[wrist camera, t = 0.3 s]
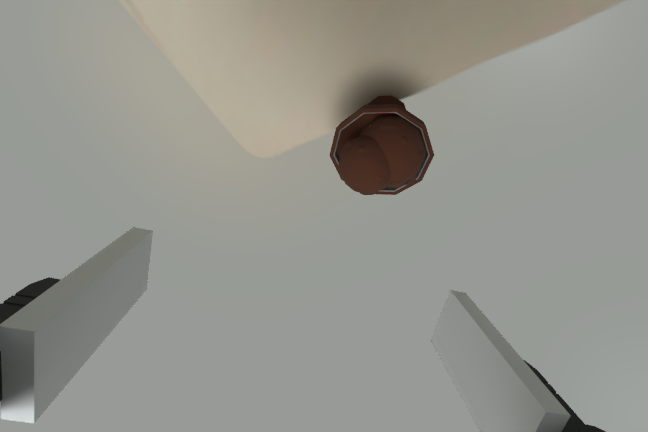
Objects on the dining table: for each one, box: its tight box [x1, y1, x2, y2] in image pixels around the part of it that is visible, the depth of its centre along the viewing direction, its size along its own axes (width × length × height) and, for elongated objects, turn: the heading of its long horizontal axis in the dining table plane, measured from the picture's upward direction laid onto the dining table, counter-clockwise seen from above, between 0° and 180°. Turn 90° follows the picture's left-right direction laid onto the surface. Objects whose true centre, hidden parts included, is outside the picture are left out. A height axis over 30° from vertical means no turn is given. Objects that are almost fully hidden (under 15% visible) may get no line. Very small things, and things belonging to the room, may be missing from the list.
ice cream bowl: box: [330, 96, 434, 195], centre depth 39 cm, size 11×11×15 cm
